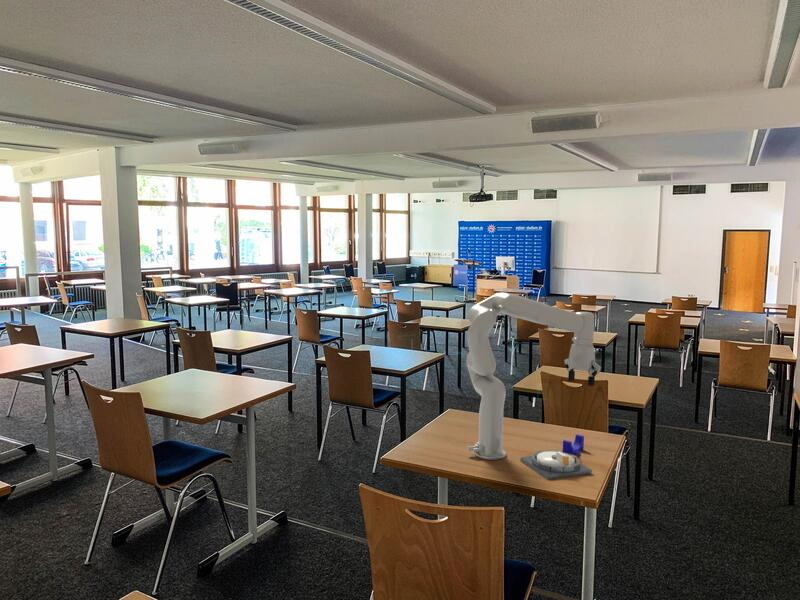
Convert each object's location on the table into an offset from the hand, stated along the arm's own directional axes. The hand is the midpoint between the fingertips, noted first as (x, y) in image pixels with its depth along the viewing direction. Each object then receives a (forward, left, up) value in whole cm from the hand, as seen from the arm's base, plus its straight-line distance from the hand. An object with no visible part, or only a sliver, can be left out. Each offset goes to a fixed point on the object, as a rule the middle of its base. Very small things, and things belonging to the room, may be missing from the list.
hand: (580, 383), depth 240 cm
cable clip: (-3, -2, -29) cm, 29 cm away
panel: (-20, -14, -28) cm, 37 cm away
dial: (-20, -14, -26) cm, 36 cm away
